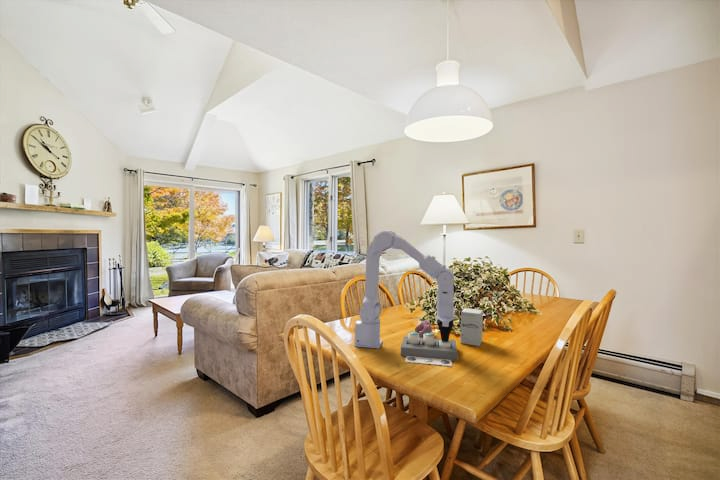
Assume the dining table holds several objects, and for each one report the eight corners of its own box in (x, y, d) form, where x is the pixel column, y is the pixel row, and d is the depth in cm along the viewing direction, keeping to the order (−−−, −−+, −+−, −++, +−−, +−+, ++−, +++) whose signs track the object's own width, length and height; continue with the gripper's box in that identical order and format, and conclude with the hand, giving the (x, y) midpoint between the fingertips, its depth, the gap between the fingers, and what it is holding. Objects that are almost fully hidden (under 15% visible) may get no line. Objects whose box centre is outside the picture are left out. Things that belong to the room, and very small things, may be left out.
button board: (400, 355, 115) (400, 347, 115) (404, 344, 127) (404, 336, 126) (457, 360, 111) (457, 351, 110) (455, 348, 122) (455, 340, 122)
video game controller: (427, 342, 133) (435, 327, 133) (417, 337, 133) (425, 322, 133) (423, 335, 143) (430, 320, 143) (413, 330, 143) (421, 316, 143)
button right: (438, 354, 116) (439, 342, 116) (438, 350, 120) (439, 338, 120) (450, 355, 115) (450, 343, 115) (450, 351, 119) (450, 339, 119)
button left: (407, 345, 118) (407, 334, 118) (408, 342, 122) (408, 331, 122) (418, 346, 117) (418, 335, 117) (419, 343, 121) (419, 331, 121)
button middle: (423, 347, 117) (423, 335, 117) (423, 343, 121) (423, 332, 121) (434, 348, 116) (434, 336, 116) (434, 344, 120) (434, 333, 120)
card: (405, 362, 109) (405, 361, 109) (406, 356, 114) (406, 355, 114) (451, 366, 106) (451, 365, 106) (451, 360, 111) (451, 359, 111)
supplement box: (459, 343, 127) (460, 311, 127) (463, 338, 134) (463, 307, 134) (480, 346, 124) (480, 313, 124) (482, 341, 131) (483, 309, 130)
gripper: (458, 308, 109) (457, 349, 109) (455, 299, 123) (455, 335, 123) (436, 307, 110) (436, 347, 111) (436, 298, 125) (436, 334, 125)
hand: (444, 341), depth 117 cm, fingers closed, pressing on button right
